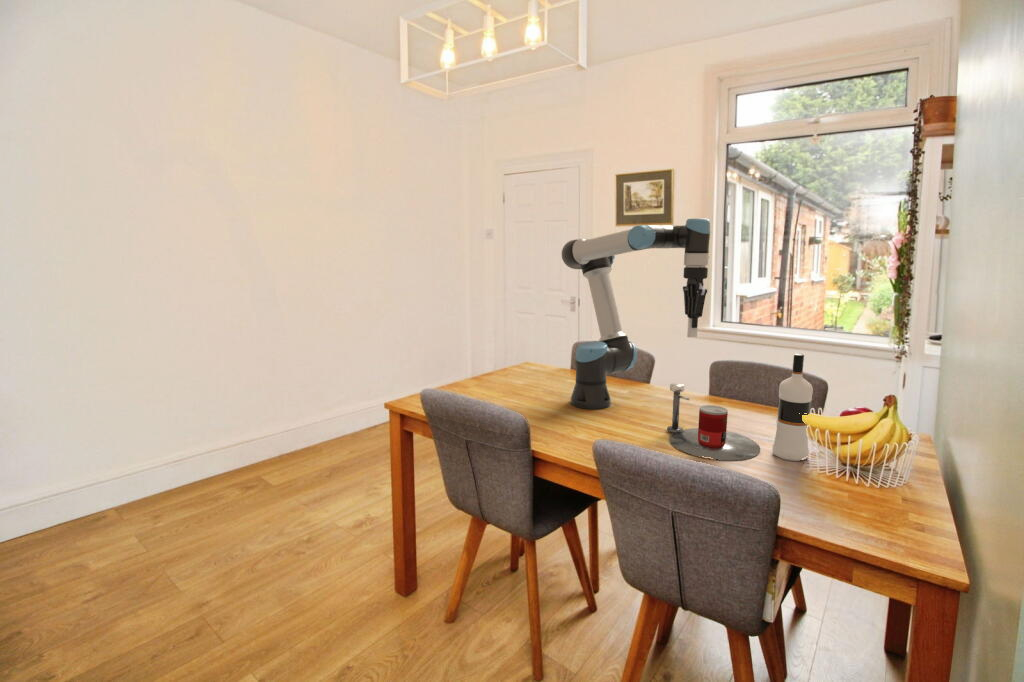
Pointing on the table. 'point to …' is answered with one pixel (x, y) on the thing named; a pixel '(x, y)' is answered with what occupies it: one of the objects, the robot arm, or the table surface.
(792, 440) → the vodka
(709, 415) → the canned food
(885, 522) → the table surface
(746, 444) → the turntable
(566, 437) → the table surface
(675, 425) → the faucet
